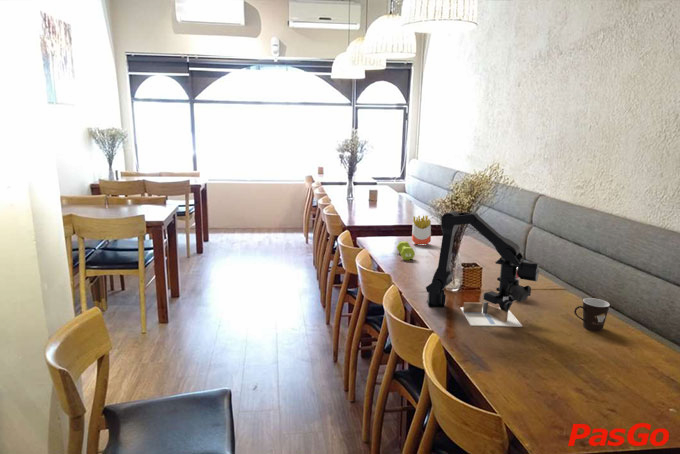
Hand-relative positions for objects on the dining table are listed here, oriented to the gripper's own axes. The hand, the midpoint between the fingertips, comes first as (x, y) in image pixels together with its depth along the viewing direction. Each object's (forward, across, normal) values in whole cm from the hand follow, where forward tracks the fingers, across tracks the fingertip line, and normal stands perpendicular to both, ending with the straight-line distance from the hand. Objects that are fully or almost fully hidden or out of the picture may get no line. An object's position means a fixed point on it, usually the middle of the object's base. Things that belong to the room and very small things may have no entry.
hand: (504, 315), depth 178 cm
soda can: (+2, +24, +19) cm, 31 cm away
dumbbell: (+3, +20, +88) cm, 90 cm away
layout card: (+2, -3, +5) cm, 6 cm away
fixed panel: (+2, -5, +10) cm, 11 cm away
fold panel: (+1, -2, +2) cm, 3 cm away
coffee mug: (+2, +22, -20) cm, 30 cm away
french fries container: (+3, +45, +104) cm, 114 cm away
